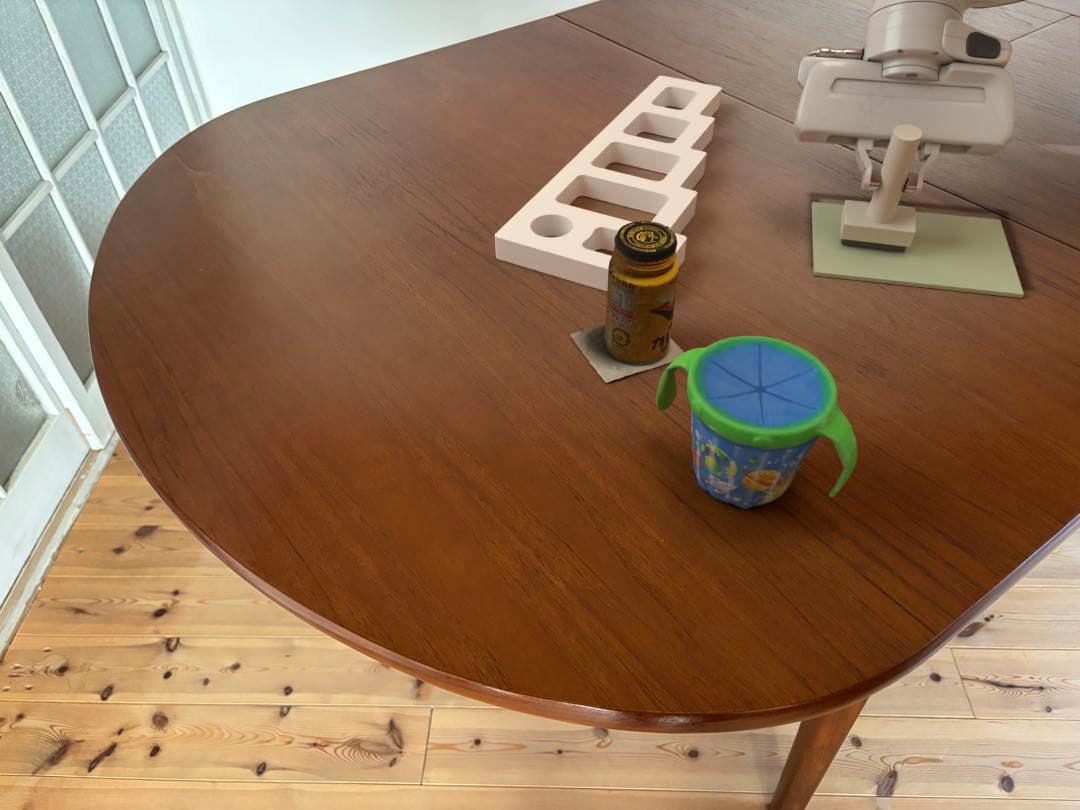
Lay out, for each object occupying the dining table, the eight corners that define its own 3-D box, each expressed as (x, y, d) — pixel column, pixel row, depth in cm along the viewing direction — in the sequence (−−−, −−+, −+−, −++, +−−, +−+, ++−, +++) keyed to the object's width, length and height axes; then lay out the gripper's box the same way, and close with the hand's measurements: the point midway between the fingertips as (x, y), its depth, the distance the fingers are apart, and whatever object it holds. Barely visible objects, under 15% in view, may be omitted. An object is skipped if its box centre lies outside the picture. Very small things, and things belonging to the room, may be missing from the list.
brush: (907, 229, 91) (946, 123, 81) (907, 254, 89) (948, 148, 79) (839, 221, 93) (869, 116, 82) (837, 246, 90) (868, 140, 80)
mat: (998, 223, 94) (1000, 219, 94) (1022, 298, 84) (1024, 294, 84) (811, 205, 97) (812, 201, 97) (813, 275, 88) (814, 271, 87)
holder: (658, 94, 119) (659, 75, 117) (785, 120, 113) (789, 100, 111) (494, 258, 91) (493, 236, 89) (651, 305, 84) (654, 282, 83)
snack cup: (863, 491, 67) (900, 396, 60) (788, 571, 61) (818, 477, 54) (702, 396, 75) (717, 302, 68) (622, 460, 69) (630, 365, 62)
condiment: (687, 357, 79) (703, 246, 70) (605, 384, 76) (611, 272, 68) (647, 313, 83) (657, 204, 75) (569, 337, 81) (571, 227, 73)
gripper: (806, 31, 83) (787, 171, 83) (1031, 44, 80) (1011, 191, 80) (797, 59, 90) (779, 190, 90) (1005, 72, 86) (987, 208, 86)
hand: (891, 190), depth 85 cm, fingers closed on brush, 2 cm apart
